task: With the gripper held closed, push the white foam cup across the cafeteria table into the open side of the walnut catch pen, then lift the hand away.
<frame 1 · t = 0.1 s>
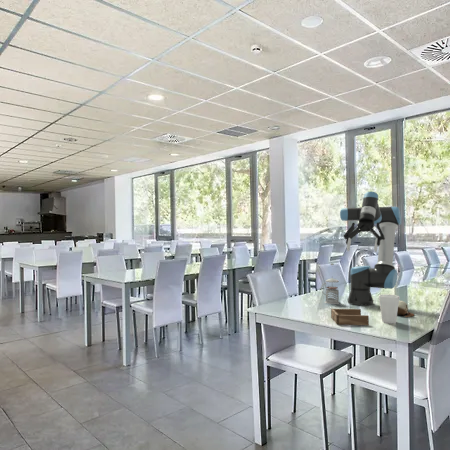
hand: (361, 249, 197), 36 cm above the table, tool tilted 35°, fingers open, 13 cm apart
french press: (330, 303, 247), on the table
catch pen: (350, 321, 197), on the table
white and brown lump: (401, 315, 212), on the table
foam cup: (389, 322, 195), on the table
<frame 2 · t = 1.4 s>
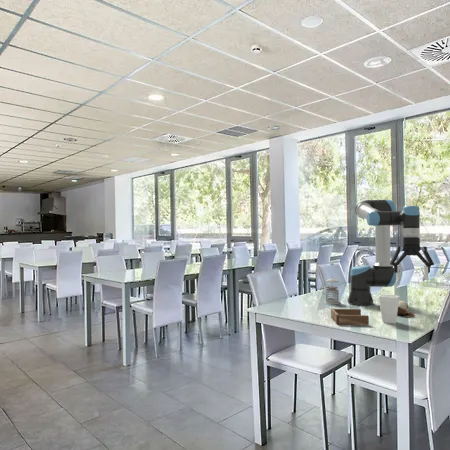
hand: (412, 279, 194), 21 cm above the table, tool pointing down, fingers open, 13 cm apart
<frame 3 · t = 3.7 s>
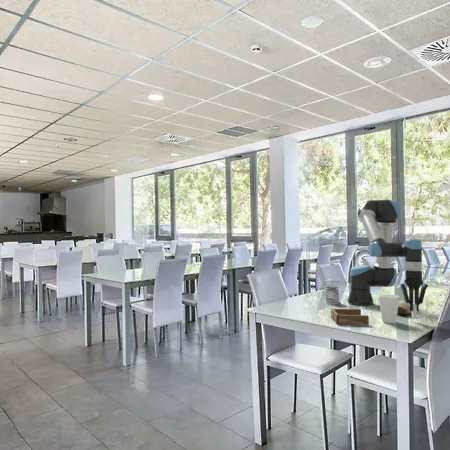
hand: (414, 317, 194), 2 cm above the table, tool pointing down, fingers closed
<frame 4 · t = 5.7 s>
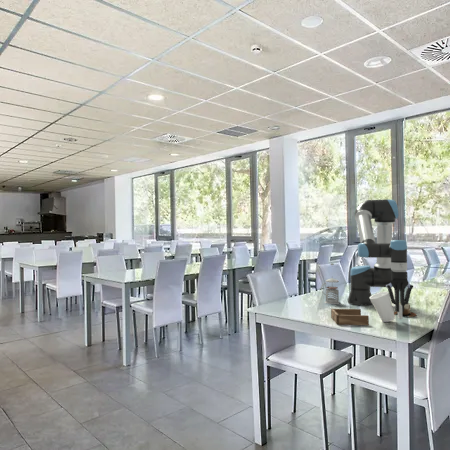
hand: (400, 318, 195), 2 cm above the table, tool pointing down, fingers closed
foam cup: (388, 319, 195), point 1 cm above the table, touching gripper, hand
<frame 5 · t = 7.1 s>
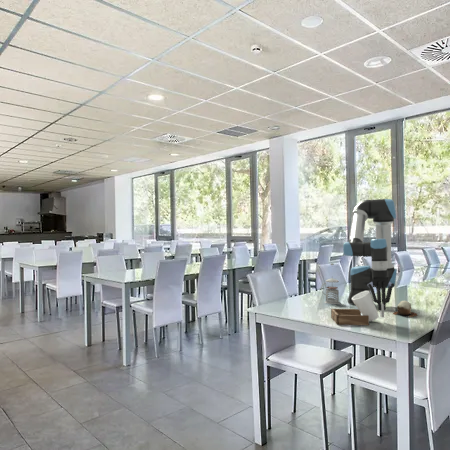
hand: (382, 316, 195), 3 cm above the table, tool pointing down, fingers closed
foam cup: (372, 318, 195), point 2 cm above the table, touching gripper, hand
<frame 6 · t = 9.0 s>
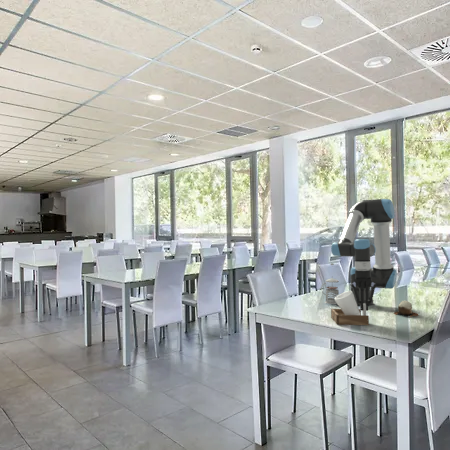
hand: (364, 317, 195), 2 cm above the table, tool pointing down, fingers closed
foam cup: (355, 318, 196), point 1 cm above the table, touching gripper, hand
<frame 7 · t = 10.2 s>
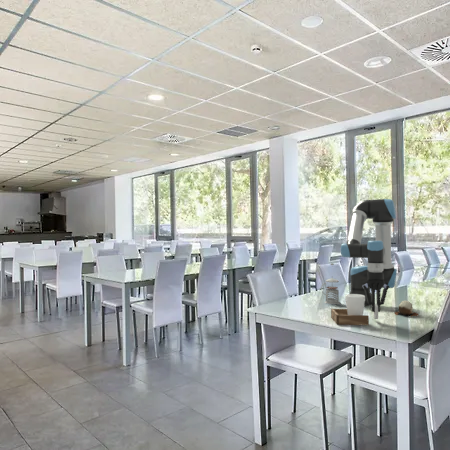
hand: (375, 318, 196), 2 cm above the table, tool pointing down, fingers closed
foam cup: (355, 321, 196), on the table
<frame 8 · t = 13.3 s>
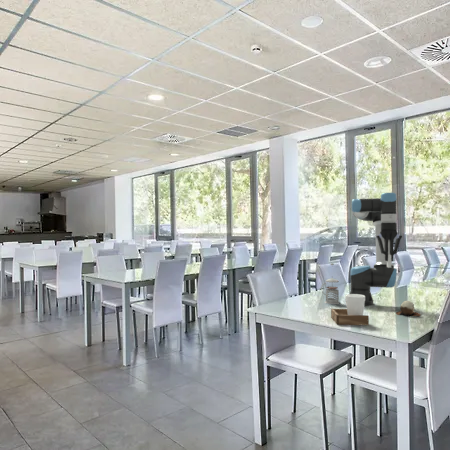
hand: (389, 267, 204), 26 cm above the table, tool pointing down, fingers closed
at the end: foam cup inside the target area (2.5 cm from its centre), on the table; foam cup tilted 0°; the gripper is holding nothing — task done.
